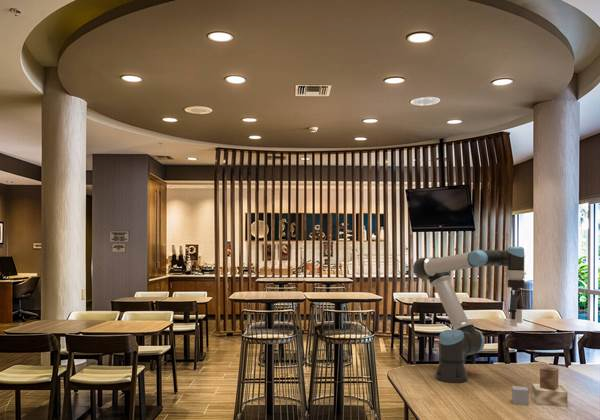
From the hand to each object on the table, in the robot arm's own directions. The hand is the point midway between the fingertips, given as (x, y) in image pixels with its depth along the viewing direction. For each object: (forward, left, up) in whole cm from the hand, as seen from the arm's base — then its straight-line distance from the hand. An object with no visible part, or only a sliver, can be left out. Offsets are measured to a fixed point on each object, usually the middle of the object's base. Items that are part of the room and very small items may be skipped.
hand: (516, 324), depth 268 cm
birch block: (+16, -18, -29) cm, 38 cm away
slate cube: (+6, -27, -29) cm, 40 cm away
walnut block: (+16, -18, -23) cm, 33 cm away
